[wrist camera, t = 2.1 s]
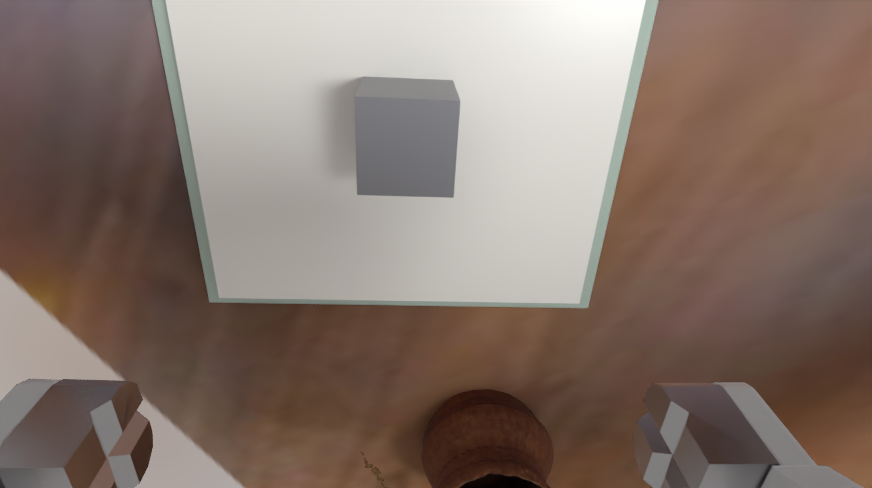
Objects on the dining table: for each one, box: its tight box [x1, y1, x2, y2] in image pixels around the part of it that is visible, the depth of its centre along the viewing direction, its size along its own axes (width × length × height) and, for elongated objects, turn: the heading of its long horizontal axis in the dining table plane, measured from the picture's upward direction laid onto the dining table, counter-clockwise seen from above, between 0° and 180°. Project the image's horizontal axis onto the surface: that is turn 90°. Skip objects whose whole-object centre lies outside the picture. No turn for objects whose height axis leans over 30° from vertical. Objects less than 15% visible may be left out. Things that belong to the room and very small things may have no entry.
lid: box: [165, 0, 646, 304], centre depth 23 cm, size 20×20×5 cm
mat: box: [152, 0, 659, 308], centre depth 25 cm, size 22×22×1 cm
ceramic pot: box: [361, 390, 553, 488], centre depth 33 cm, size 18×18×7 cm
